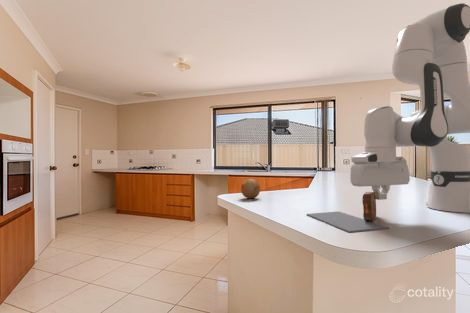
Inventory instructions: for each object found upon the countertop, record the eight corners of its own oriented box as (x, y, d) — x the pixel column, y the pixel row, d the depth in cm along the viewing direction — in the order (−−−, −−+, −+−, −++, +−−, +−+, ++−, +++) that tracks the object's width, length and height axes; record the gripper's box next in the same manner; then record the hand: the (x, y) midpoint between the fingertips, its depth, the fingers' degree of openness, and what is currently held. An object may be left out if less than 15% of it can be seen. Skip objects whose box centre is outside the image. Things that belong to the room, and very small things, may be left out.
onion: (250, 200, 120) (249, 180, 121) (237, 198, 128) (236, 179, 128) (264, 198, 127) (264, 178, 127) (251, 196, 134) (250, 177, 134)
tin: (372, 223, 73) (373, 195, 73) (360, 222, 75) (361, 194, 75) (376, 215, 86) (377, 191, 86) (366, 214, 88) (366, 190, 88)
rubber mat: (338, 212, 91) (338, 211, 91) (388, 228, 70) (388, 227, 70) (306, 215, 88) (306, 213, 88) (348, 232, 67) (348, 231, 67)
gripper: (397, 156, 87) (398, 196, 87) (346, 157, 82) (347, 199, 82) (414, 156, 81) (415, 199, 81) (360, 157, 76) (361, 202, 76)
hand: (381, 199), depth 81 cm, fingers closed
